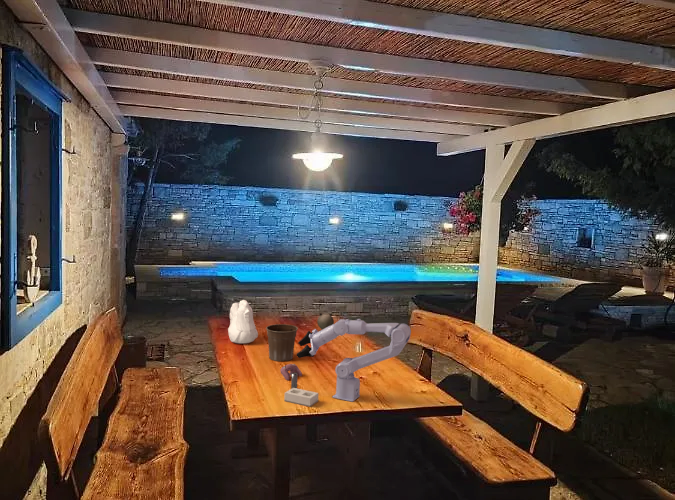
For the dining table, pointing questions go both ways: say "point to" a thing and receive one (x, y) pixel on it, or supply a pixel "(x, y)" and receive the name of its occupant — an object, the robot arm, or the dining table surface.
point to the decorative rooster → (242, 323)
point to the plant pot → (281, 341)
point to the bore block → (301, 397)
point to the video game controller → (291, 368)
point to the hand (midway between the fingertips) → (298, 350)
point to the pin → (294, 380)
